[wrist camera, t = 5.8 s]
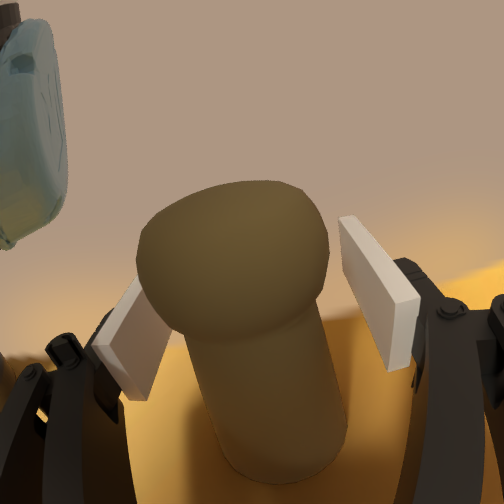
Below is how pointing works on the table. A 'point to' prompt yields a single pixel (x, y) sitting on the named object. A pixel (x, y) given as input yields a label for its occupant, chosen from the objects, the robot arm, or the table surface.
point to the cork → (251, 321)
